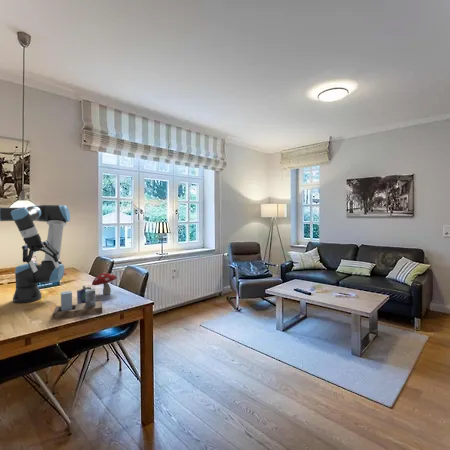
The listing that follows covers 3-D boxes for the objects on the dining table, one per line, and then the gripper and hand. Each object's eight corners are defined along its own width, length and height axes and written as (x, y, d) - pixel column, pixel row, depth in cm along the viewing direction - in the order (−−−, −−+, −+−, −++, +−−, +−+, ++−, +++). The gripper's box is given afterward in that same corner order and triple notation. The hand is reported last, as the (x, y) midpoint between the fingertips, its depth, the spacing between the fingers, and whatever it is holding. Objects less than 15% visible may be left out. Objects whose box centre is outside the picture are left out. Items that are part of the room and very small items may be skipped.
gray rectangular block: (62, 316, 154) (61, 294, 153) (61, 313, 158) (60, 292, 158) (72, 314, 157) (71, 292, 156) (71, 311, 161) (70, 290, 160)
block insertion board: (53, 319, 150) (52, 296, 149) (56, 311, 161) (55, 290, 160) (102, 312, 159) (101, 291, 159) (102, 305, 170) (101, 286, 170)
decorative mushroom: (97, 299, 183) (97, 276, 182) (88, 294, 194) (87, 272, 193) (121, 294, 194) (120, 272, 193) (111, 289, 205) (110, 269, 204)
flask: (79, 305, 172) (78, 287, 171) (75, 304, 173) (75, 287, 173) (92, 301, 180) (92, 284, 179) (89, 300, 181) (89, 283, 181)
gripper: (4, 242, 151) (22, 276, 158) (47, 233, 150) (63, 268, 157) (14, 237, 158) (30, 270, 165) (55, 228, 157) (70, 262, 164)
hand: (46, 269), depth 161 cm, fingers open, 13 cm apart
